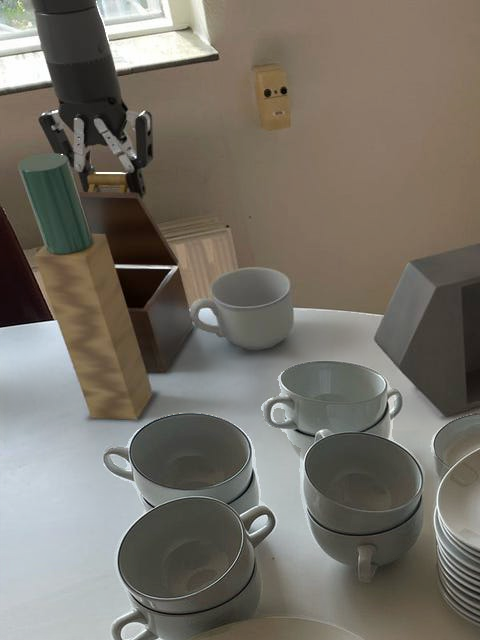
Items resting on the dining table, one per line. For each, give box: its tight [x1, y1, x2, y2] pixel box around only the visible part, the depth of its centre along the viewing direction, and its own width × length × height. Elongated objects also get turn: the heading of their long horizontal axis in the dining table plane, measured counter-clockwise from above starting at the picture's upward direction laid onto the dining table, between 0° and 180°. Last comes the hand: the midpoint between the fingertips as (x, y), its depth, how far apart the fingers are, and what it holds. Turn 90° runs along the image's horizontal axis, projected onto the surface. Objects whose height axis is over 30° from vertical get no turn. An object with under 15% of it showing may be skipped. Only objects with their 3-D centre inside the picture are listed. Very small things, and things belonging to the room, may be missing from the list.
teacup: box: [189, 266, 295, 351], centre depth 137 cm, size 14×11×8 cm
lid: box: [79, 172, 179, 267], centre depth 131 cm, size 14×11×5 cm
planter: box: [373, 242, 480, 417], centre depth 123 cm, size 17×8×21 cm
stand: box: [33, 234, 154, 420], centre depth 121 cm, size 6×6×21 cm
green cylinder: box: [17, 152, 94, 255], centre depth 111 cm, size 5×5×9 cm
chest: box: [114, 264, 195, 374], centre depth 136 cm, size 13×11×9 cm
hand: (116, 199), depth 129 cm, fingers closed on lid, 5 cm apart
